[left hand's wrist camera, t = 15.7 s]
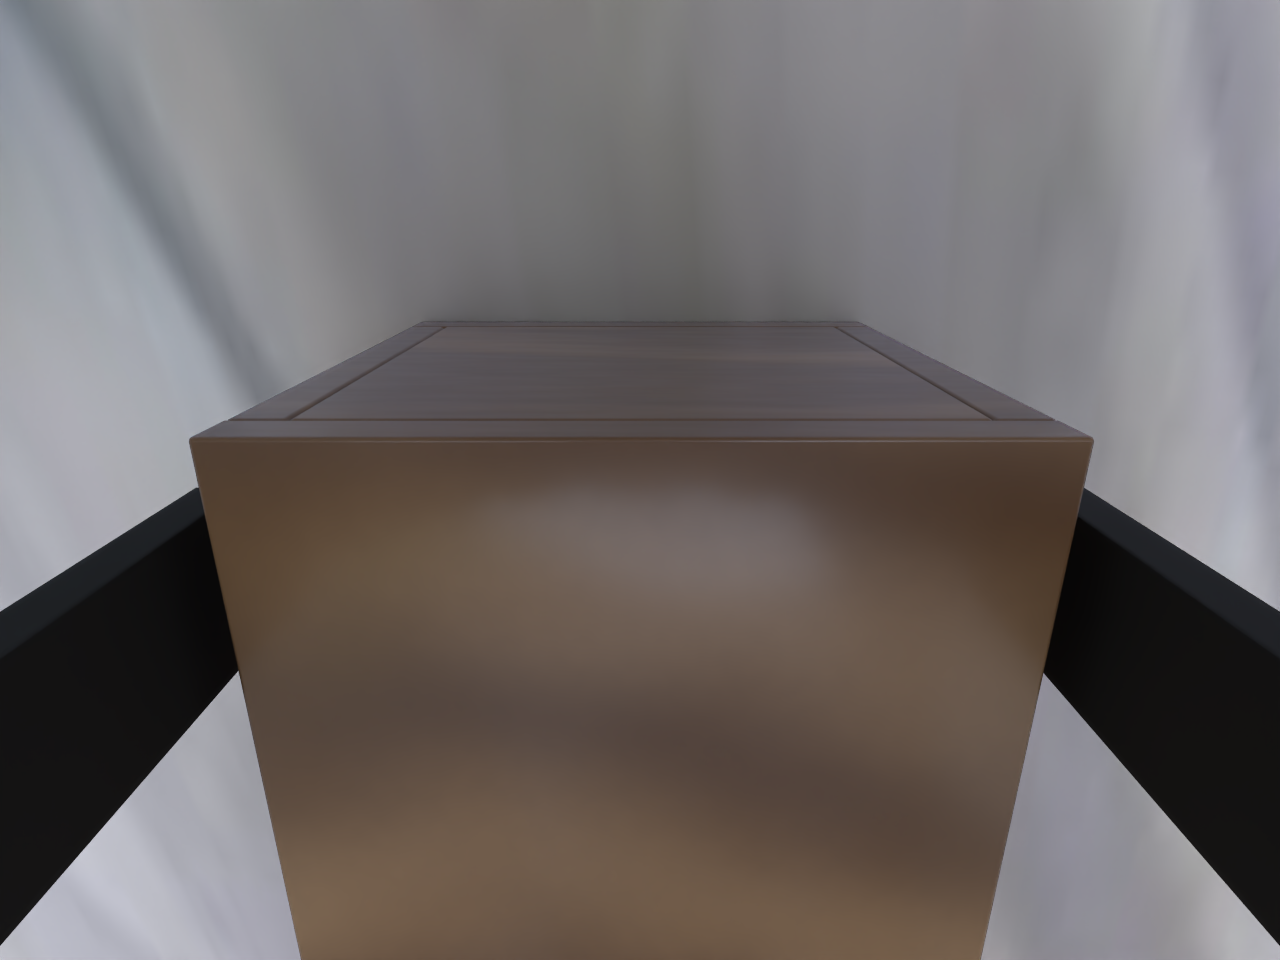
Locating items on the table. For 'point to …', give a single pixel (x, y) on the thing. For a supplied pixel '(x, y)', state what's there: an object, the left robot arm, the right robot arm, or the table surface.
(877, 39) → the table surface
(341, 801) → the cabinet
